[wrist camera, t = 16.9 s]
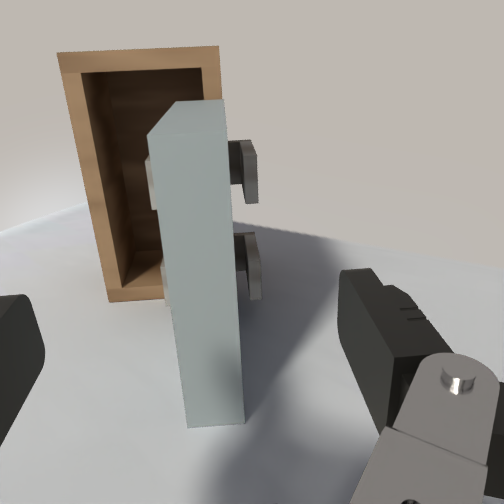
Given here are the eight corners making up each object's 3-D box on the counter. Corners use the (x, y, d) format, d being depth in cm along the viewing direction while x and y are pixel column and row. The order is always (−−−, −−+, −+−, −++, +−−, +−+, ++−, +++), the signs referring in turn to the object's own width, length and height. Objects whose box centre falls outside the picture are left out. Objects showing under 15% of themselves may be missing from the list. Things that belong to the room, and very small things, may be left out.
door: (197, 305, 33) (175, 101, 27) (236, 302, 33) (223, 99, 27) (187, 428, 22) (146, 135, 16) (244, 423, 23) (226, 131, 16)
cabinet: (127, 258, 41) (90, 52, 34) (249, 250, 42) (240, 45, 34) (94, 336, 30) (27, 52, 22) (262, 323, 31) (252, 43, 23)
